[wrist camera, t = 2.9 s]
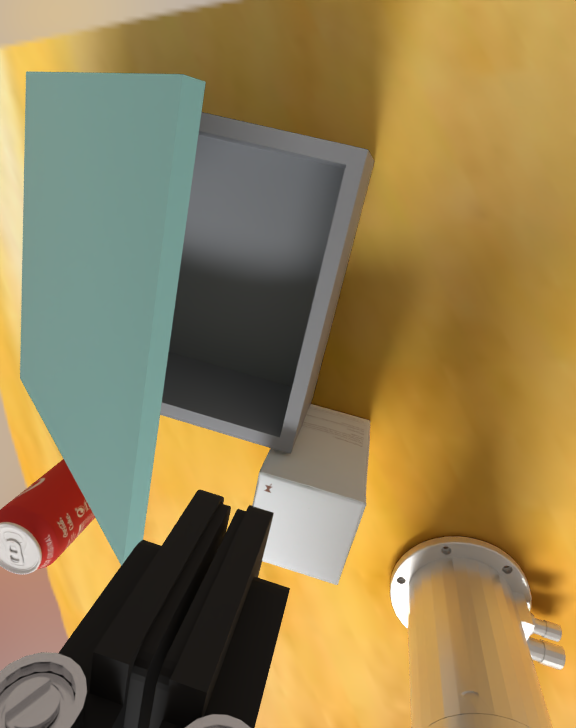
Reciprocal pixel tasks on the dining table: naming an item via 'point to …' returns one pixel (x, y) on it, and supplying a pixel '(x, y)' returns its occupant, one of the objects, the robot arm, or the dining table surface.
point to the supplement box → (316, 494)
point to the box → (260, 277)
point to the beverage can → (42, 521)
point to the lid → (104, 272)
